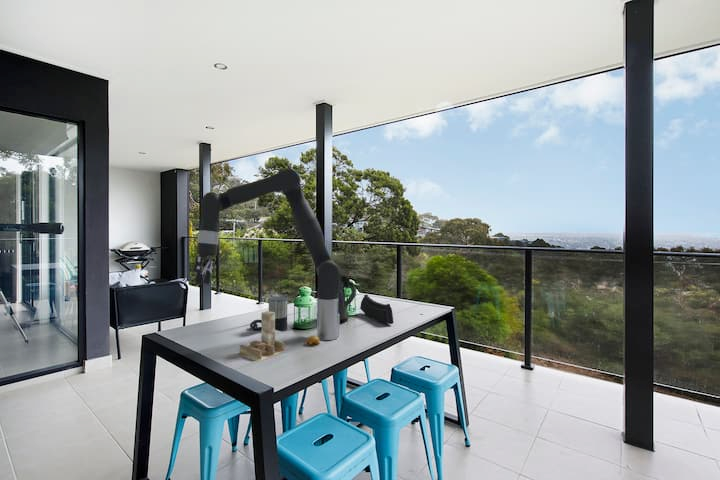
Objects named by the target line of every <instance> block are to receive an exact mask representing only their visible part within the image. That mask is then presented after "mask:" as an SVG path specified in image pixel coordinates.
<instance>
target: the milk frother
mask: <svg viewBox="0 0 720 480" xmlns="http://www.w3.org/2000/svg"><path fill="white" fill-rule="evenodd" d="M288 299H289V297H287V296H284V295H283V296H281V295H277V296H270V297H268V298H267V300H268V311H270V312H275V331H278V332H284V331H288V329H289V328H288ZM258 323H261V319H255V320H253V321H251V323H250V324H249V327H250V329H252V330H254V331H261V326H260V327H259V325H258Z"/></svg>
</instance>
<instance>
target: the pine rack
mask: <svg viewBox="0 0 720 480" xmlns="http://www.w3.org/2000/svg"><path fill="white" fill-rule="evenodd" d="M254 341H256V340H252V342H254ZM265 344H266V343H265ZM249 346H250V345H244V344H243V343H242V344H239V352H237V353H236V355H238V356H240V357H243V358H246V359H249V360H253V361H256V362H259V361H262V360H264V359H267V358H269V357H270V358H271V357H273V356H275V355H278V354H280V353H283V352H286V351H287V349H286V348H285V343H284V342H283V341H278V340H275V350H274V346H273V345H269V344H266V347H265V350H267V354H265V355H262V350H259V349H256V348H252V347H249Z"/></svg>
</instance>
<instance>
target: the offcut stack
mask: <svg viewBox="0 0 720 480" xmlns="http://www.w3.org/2000/svg"><path fill="white" fill-rule="evenodd" d="M253 341H254V340H253ZM253 341H251V342H249V345H248V346H249V347H252V348H256V349H259V350H262V355H265V354H267V350H265V347H266V344H265V343H263V342H261V341H259V340H255V341H254V342H253Z"/></svg>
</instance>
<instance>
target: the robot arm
mask: <svg viewBox="0 0 720 480" xmlns="http://www.w3.org/2000/svg"><path fill="white" fill-rule="evenodd" d="M301 185H302V184H301V176H300V173H299V172H298V171H297V170H295V169H293V168H285V169H283V170H281V171H279V172H277V173H275V174H272V175H271V176H268V177H265V178H262V179H259V180H255V181H252V182H248V183H244V184H240V185H236V186H234V187H231V188H228V189H227V190H226V191H225V192H221V193H219V194H218V193H216V192H214V191H213V192H212V191H209V192H207V193H205V194H204V195H203V197H202V199H201V206H200V207H201V210H200V211H201V222H200V226H199V227H200V229H199V234H198V240H197V243H196V244H197V246H196V252H195V253H196V254H197V255H200V256H196V257H195V261H194V262H195V264H194V268H193V273H195V274H196V275H195V276H196V277H195V282H194V283H195V285H203V284H206V285H209V284H211V280H212V279H211V277H212V274H214V272H215V263H216V258H213V257H214V256H217V255H218V247H219V241H220V240H219V239H220V228H221V227H220V226H221V220H220V212H221V211H224V210H227V209H229V208H231V207H233V206H237V205H239V204H244V203H248V202H251V201H253V200H255V199H258V198H260V197H263V196H265V195H269V194H271V193H277V192H282V193H283V195H284V196H285V198H286V201H287V202H288V204H289V206H290V210H291V213H292V217H293V219H294V220H293V221H294V222H295V225H296V226H295V227H297V230H298V232H299V235H300V237H301V239H302V241H303V243H304V245H305V246H306V248H307V251H309V253H310V256H311V258H312V261H313V263H314V267H315V270H316V275H317V277H318V278H317V280H318V281H317V292H316V293H317V294H316V296H317V297H316V304H317V305H316V336H318V337H319V339H320V340H321V341H333V340H336V339H338V338H339V336H340V324H339V319H340V315H339V314H338V299H339V290H340V273H341V271H340V270H341V269H340V267H339V265H338V264H337V263H335V262H334V260H333V259H332V257H331V255H330V253H329V251H328V249H327V246H326V241H325V238H324V233H323V231H322V228H321V225H320V221H318V218H317V216H316V214H315V212H314V210H313V208H312V207H311V206H310V204H309V202H308V201H307V199H306V197H305V195H304V194H305V193H304V191H303V189H302V186H301ZM203 277H204V278H203ZM320 340H319V341H320Z"/></svg>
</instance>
